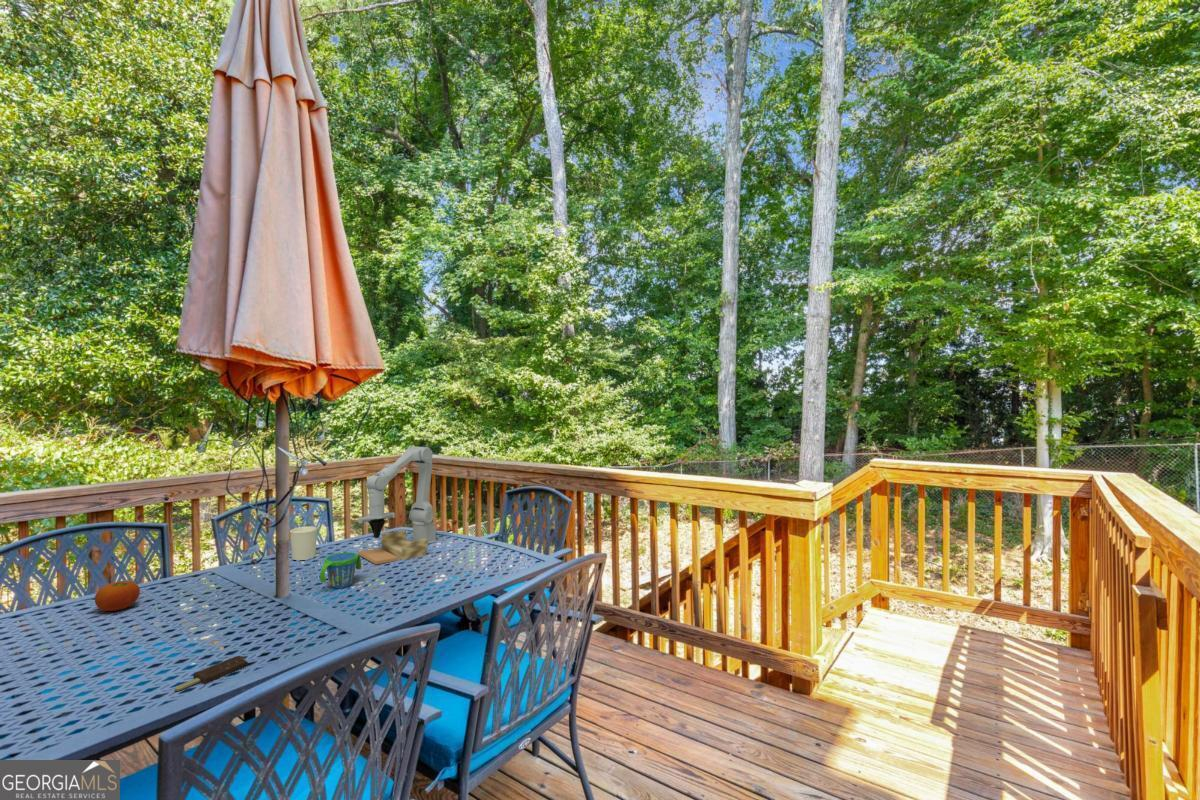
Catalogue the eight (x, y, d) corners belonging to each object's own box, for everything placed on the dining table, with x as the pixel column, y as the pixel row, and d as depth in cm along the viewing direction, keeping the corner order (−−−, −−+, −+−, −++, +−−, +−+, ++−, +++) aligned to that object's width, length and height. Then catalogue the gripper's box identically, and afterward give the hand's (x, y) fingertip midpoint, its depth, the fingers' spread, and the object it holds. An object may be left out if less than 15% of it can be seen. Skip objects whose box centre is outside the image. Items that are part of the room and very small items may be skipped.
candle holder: (314, 553, 222) (314, 525, 222) (319, 559, 215) (319, 529, 215) (287, 557, 216) (287, 528, 216) (292, 563, 208) (292, 533, 208)
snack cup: (329, 595, 177) (329, 565, 176) (311, 589, 182) (311, 560, 182) (370, 581, 190) (370, 553, 190) (351, 576, 195) (352, 548, 195)
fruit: (94, 608, 164) (94, 582, 164) (138, 599, 172) (138, 575, 172) (95, 618, 157) (95, 592, 157) (141, 609, 164) (141, 583, 164)
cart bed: (404, 545, 235) (405, 529, 235) (427, 555, 220) (427, 539, 220) (381, 550, 228) (381, 534, 228) (403, 561, 213) (403, 543, 213)
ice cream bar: (180, 696, 118) (251, 666, 131) (180, 689, 118) (251, 659, 131) (169, 690, 120) (239, 661, 134) (169, 683, 120) (239, 654, 134)
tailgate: (379, 548, 226) (358, 551, 219) (398, 557, 213) (375, 561, 206) (379, 550, 225) (357, 554, 219) (398, 560, 213) (375, 564, 206)
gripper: (362, 509, 208) (362, 543, 209) (398, 503, 219) (398, 536, 219) (355, 506, 213) (355, 539, 214) (390, 501, 224) (390, 532, 224)
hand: (376, 537), depth 217 cm, fingers closed
